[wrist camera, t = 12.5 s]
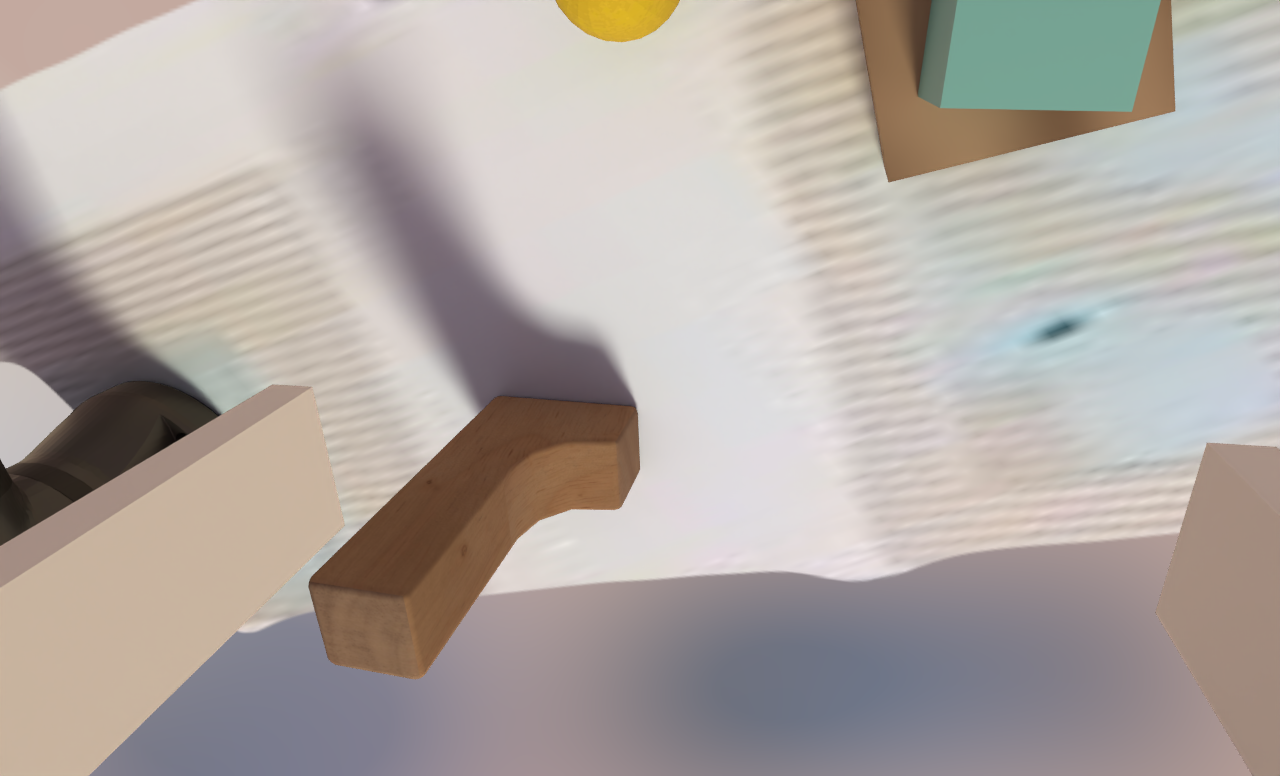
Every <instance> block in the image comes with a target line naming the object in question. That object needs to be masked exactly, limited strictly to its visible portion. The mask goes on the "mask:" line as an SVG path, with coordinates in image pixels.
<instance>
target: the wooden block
mask: <svg viewBox="0 0 1280 776" xmlns="http://www.w3.org/2000/svg"><path fill="white" fill-rule="evenodd" d="M639 470H640V457H639V434H638V413H637V410H636V408H635V407H632V406H621V405H609V404H596V403H583V402H570V401H557V400H545V399H532V398H519V397H507V396H498V397H496V398H494V399H493V400H492V401H491V402H490V403H489V404H488V405H487V406H486V407H485V408H484V409H483V410H482V411H481V412H480V413H479V414H478V415H477V416H476V417H475V418H474V419H473V420H472V421H471V422H470V423H469V424H468V425H466V426H465V427H464V428H463V429H462V430H461V431H460V432H459V433H458V434H457V435H456V436H455V437H454V438H453V439H452V440H451V441H450V442H449V443H448V444H447V445H446V446H445V447H444V448H443V449H442V450H441V451H440V452H439V453H438V454H437V455H436V456H435V457H434V458H433V459H432V460H431V461H430V462H429V463H428V464H427V465H425V466H424V467H423V468H422V469H421V470H420V471H419V472H418V473H417V474H416V475H415V476H414V477H413V478H412V479H411V480H410V481H409V482H408V483H407V484H406V485H405V486H404V487H403V488H402V489H401V490H400V491H399V492H398V493H397V494H396V495H395V496H394V497H393V498H392V499H391V500H390V501H389V502H388V503H387V504H385V505H384V506H383V507H382V508H381V509H380V510H379V511H378V512H377V513H376V514H375V515H374V516H373V517H372V518H371V519H370V520H369V521H368V522H367V523H366V524H365V525H364V526H363V527H362V528H361V529H360V530H359V531H358V532H357V533H356V534H355V535H354V536H353V537H352V538H351V539H350V540H349V541H348V542H347V543H346V544H344V545H343V546H342V547H341V548H340V549H339V550H338V551H337V552H336V553H335V554H334V555H333V556H332V557H331V558H330V559H329V560H328V561H327V562H326V563H325V564H324V565H323V566H322V567H321V568H320V569H319V570H318V571H317V572H316V573H315V574H314V575H313V576H312V577H311V579H310V581H309V590H310V594H311V598H312V601H313V605H314V609H315V612H316V616H317V620H318V623H319V627H320V631H321V634H322V638H323V642H324V645H325V649H326V653H327V656H328V659H329V660H330V661H331V662H332V663H334V664H335V665H340V666H346V667H351V668H356V669H362V670H368V671H372V672H378V673H383V674H389V675H394V676H399V677H405V678H410V679H419V678H421V677H423V676H424V675H425V674H426V672H427V671H428V669H429V668H430V666H431V665H432V663H433V662H434V660H435V659H436V657H437V656H438V655H439V653H440V652H441V650H442V649H443V647H444V646H445V644H446V643H447V641H448V640H449V638H450V637H451V636H452V634H453V632H454V631H455V630H456V628H457V627H458V625H459V624H460V622H461V621H462V619H463V618H464V616H465V615H466V614H467V612H468V611H469V609H470V608H471V606H472V605H473V603H474V602H475V600H476V599H477V597H478V596H479V594H480V593H481V592H482V590H483V589H484V587H485V586H486V584H487V583H488V581H489V580H490V578H491V577H492V575H493V574H494V573H495V571H496V570H497V568H498V567H499V565H500V564H501V562H502V561H503V559H504V558H505V556H506V555H507V553H508V552H509V551H510V549H511V548H512V546H513V545H514V543H515V542H516V540H517V539H518V538H519V537H520V536H521V535H523V534H524V533H525V532H526V531H527V530H529V529H530V528H531V527H532V526H533V525H534V524H536V523H537V522H538V521H539V520H542V519H545V518H547V517H550V516H553V515H556V514H559V513H562V512H565V511H568V510H571V509H594V510H616V509H619V508H621V507H622V505H623V503H624V501H625V499H626V497H627V495H628V493H629V491H630V489H631V487H632V485H633V483H634V481H635V479H636V477H637V475H638V473H639Z"/></svg>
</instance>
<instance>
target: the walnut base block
mask: <svg viewBox="0 0 1280 776" xmlns="http://www.w3.org/2000/svg"><path fill="white" fill-rule="evenodd" d="M931 1H932V0H856V5H857V11H858V16H859V22H860V28H861V34H862V40H863V46H864V51H865V57H866V63H867V69H868V75H869V81H870V86H871V92H872V98H873V104H874V110H875V116H876V121H877V127H878V133H879V139H880V145H881V151H882V156H883V162H884V168H885V171H886V175H887V178H888V182H892V181H896V180H900V179H904V178H908V177H912V176H916V175H920V174H924V173H928V172H932V171H936V170H940V169H945V168H949V167H953V166H957V165H961V164H965V163H969V162H973V161H977V160H981V159H985V158H989V157H993V156H997V155H1001V154H1005V153H1009V152H1013V151H1017V150H1021V149H1025V148H1029V147H1033V146H1037V145H1041V144H1045V143H1049V142H1053V141H1057V140H1061V139H1065V138H1069V137H1073V136H1077V135H1081V134H1085V133H1089V132H1093V131H1097V130H1101V129H1105V128H1109V127H1113V126H1117V125H1122V124H1126V123H1130V122H1134V121H1138V120H1142V119H1146V118H1150V117H1154V116H1158V115H1162V114H1166V113H1170V112H1174V111H1175V90H1174V65H1173V40H1172V15H1171V0H1161V2H1160V5H1159V9H1158V13H1157V17H1156V21H1155V25H1154V29H1153V32H1152V36H1151V40H1150V44H1149V48H1148V52H1147V56H1146V59H1145V63H1144V67H1143V71H1142V75H1141V79H1140V83H1139V86H1138V90H1137V94H1136V98H1135V102H1134V106H1133V110H1132V112H1116V111H1063V110H1010V109H957V108H939V107H937V106H935V105H933V104H931V103H929V102H927V101H925V100H923V99H921V98H919V97H918V90H919V83H920V76H921V69H922V63H923V56H924V49H925V42H926V35H927V29H928V22H929V15H930V8H931Z"/></svg>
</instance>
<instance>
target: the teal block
mask: <svg viewBox="0 0 1280 776" xmlns="http://www.w3.org/2000/svg"><path fill="white" fill-rule="evenodd" d="M1160 2H1161V0H932V1H931V8H930V15H929V22H928V29H927V35H926V42H925V49H924V56H923V63H922V69H921V76H920V83H919V90H918V97H919V98H921V99H923V100H925V101H927V102H929V103H931V104H933V105H935V106H937V107H939V108H957V109H1010V110H1063V111H1116V112H1132V110H1133V106H1134V102H1135V98H1136V94H1137V90H1138V86H1139V83H1140V79H1141V75H1142V71H1143V67H1144V63H1145V59H1146V56H1147V52H1148V48H1149V44H1150V40H1151V36H1152V32H1153V29H1154V25H1155V21H1156V17H1157V13H1158V9H1159V5H1160Z"/></svg>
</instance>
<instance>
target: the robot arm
mask: <svg viewBox="0 0 1280 776" xmlns="http://www.w3.org/2000/svg"><path fill="white" fill-rule="evenodd" d="M344 526H345V524H344V520H343V516H342V511H341V507H340V503H339V499H338V494H337V490H336V486H335V482H334V478H333V473H332V469H331V465H330V461H329V456H328V452H327V448H326V444H325V439H324V435H323V431H322V427H321V423H320V418H319V414H318V410H317V406H316V401H315V397H314V393H313V389H312V387H304V386H288V385H271V386H269V387H268V388H266V389H264V390H263V391H261V392H259V393H257V394H256V395H254V396H252V397H251V398H249V399H247V400H246V401H244V402H242V403H241V404H239V405H237V406H236V407H234V408H232V409H231V410H229V411H227V412H225V413H224V414H222V415H220V416H219V417H218V416H217V415H216V414H215V413H214V412H212V411H211V410H210V409H209V408H207V407H206V406H205V405H203V404H202V403H200V402H199V401H197V400H196V399H194V398H192V397H191V396H189V395H187V394H185V393H183V392H181V391H179V390H177V389H174V388H171V387H169V386H166V385H162V384H158V383H154V382H146V381H133V382H127V383H123V384H120V385H117V386H115V387H113V388H111V389H108V390H106V391H104V392H102V393H100V394H97V395H95V396H93V397H91V398H89V399H88V400H86V401H85V402H83V403H82V404H80V405H79V406H78V407H77V408H76V409H75V410H74V411H73V412H72V413H71V414H70V415H69V416H68V417H67V418H66V419H65V420H64V421H63V422H62V423H61V424H60V425H58V426H57V427H56V428H55V429H54V430H53V431H52V432H51V433H50V434H49V435H48V436H47V437H46V438H45V439H44V440H43V441H42V442H41V443H40V444H39V445H38V446H37V447H36V448H35V449H34V450H33V451H32V452H31V453H30V454H29V455H27V456H26V457H25V459H23V460H22V461H20V462H19V463H17V464H15V465H13V466H11V467H8V468H6V469H5V467H4V465H3V464H2V462H1V460H0V776H89V775H90V774H91V773H92V772H93V771H94V770H95V769H96V768H97V767H98V766H99V765H100V764H101V763H102V762H103V761H104V760H105V759H106V758H107V757H108V756H109V755H110V754H111V753H112V752H113V751H114V750H115V749H116V748H117V747H118V746H119V745H120V744H121V743H123V742H124V740H126V739H127V738H128V737H129V736H130V735H131V734H132V733H133V732H134V731H135V730H136V729H137V728H138V727H139V726H140V725H141V724H142V723H143V722H144V721H145V720H146V719H147V718H148V717H149V716H150V715H151V714H152V713H153V712H154V711H155V710H156V709H157V708H158V707H159V706H160V705H161V704H162V703H163V702H165V701H166V700H167V699H168V698H169V697H170V696H171V695H172V694H173V693H174V692H175V691H176V690H177V689H178V688H179V687H180V686H181V685H182V684H183V683H184V682H185V681H186V680H187V679H188V678H189V677H190V676H191V675H192V674H193V673H194V672H195V671H196V670H197V669H198V668H199V667H200V666H201V665H202V664H203V663H204V662H205V661H206V660H208V658H210V657H211V656H212V655H213V654H214V653H215V652H216V651H217V650H218V649H219V648H220V647H221V646H222V645H223V644H224V643H225V642H226V641H227V640H228V639H229V638H230V637H231V636H232V635H233V634H234V633H235V632H236V631H237V630H238V629H239V628H240V627H241V626H242V625H243V624H244V623H245V622H246V621H247V620H248V619H249V618H251V617H252V616H253V615H254V614H255V613H256V612H257V611H258V610H259V609H260V608H261V607H262V606H263V605H264V604H265V603H266V602H267V601H268V600H269V599H270V598H271V597H272V596H273V595H274V594H275V593H276V592H277V591H278V590H279V589H280V588H281V587H282V586H283V585H284V584H285V583H286V582H287V581H288V580H289V579H290V578H291V577H292V576H294V575H295V574H296V573H297V572H298V571H299V570H300V569H301V568H302V567H303V566H304V565H305V564H306V563H307V562H308V561H309V560H310V559H311V558H312V557H313V556H314V555H315V554H316V553H317V552H318V551H319V550H320V549H321V548H322V547H323V546H324V545H325V544H326V543H327V542H328V541H329V540H330V539H331V538H332V537H333V536H334V535H335V534H337V533H338V532H339V531H340V530H341V529H342V528H343V527H344ZM1155 613H1156V615H1157V616H1158V618H1159V620H1160V622H1161V623H1162V625H1163V626H1164V628H1165V630H1166V631H1167V633H1168V635H1169V637H1170V638H1171V640H1172V642H1173V643H1174V645H1175V647H1176V648H1177V650H1178V652H1179V653H1180V655H1181V657H1182V658H1183V660H1184V662H1185V663H1186V665H1187V667H1188V669H1189V670H1190V672H1191V674H1192V675H1193V677H1194V678H1195V680H1196V682H1197V684H1198V685H1199V687H1200V689H1201V690H1202V692H1203V693H1204V695H1205V697H1206V699H1207V700H1208V702H1209V703H1210V705H1211V707H1212V709H1213V710H1214V712H1215V714H1216V716H1217V717H1218V719H1219V720H1220V722H1221V724H1222V725H1223V727H1224V729H1225V730H1226V732H1227V734H1228V736H1229V737H1230V739H1231V741H1232V742H1233V744H1234V746H1235V747H1236V749H1237V751H1238V752H1239V754H1240V756H1241V757H1242V759H1243V761H1244V763H1245V764H1246V766H1247V768H1248V769H1249V771H1250V772H1251V774H1252V776H1280V450H1279V449H1278V448H1277V447H1267V446H1251V445H1235V444H1219V443H1207V445H1206V448H1205V451H1204V454H1203V458H1202V461H1201V464H1200V467H1199V471H1198V474H1197V477H1196V481H1195V484H1194V487H1193V490H1192V494H1191V497H1190V500H1189V504H1188V507H1187V510H1186V513H1185V517H1184V520H1183V523H1182V527H1181V530H1180V533H1179V536H1178V540H1177V543H1176V546H1175V550H1174V553H1173V556H1172V559H1171V563H1170V566H1169V569H1168V573H1167V576H1166V579H1165V582H1164V586H1163V589H1162V592H1161V595H1160V599H1159V602H1158V605H1157V609H1156V612H1155Z"/></svg>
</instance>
